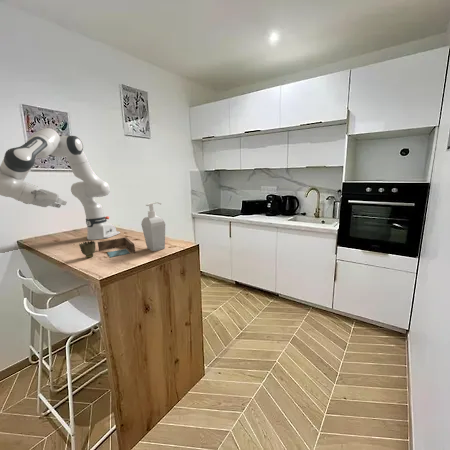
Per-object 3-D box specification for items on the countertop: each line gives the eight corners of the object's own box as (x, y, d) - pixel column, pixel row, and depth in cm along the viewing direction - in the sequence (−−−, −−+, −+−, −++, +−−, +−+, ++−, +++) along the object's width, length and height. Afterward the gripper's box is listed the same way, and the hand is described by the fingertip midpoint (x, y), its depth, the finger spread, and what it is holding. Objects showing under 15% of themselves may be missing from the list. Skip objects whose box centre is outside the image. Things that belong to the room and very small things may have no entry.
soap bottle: (170, 248, 143) (165, 202, 138) (154, 252, 137) (148, 204, 131) (160, 244, 152) (155, 201, 147) (144, 248, 146) (138, 203, 141)
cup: (79, 257, 135) (77, 243, 133) (94, 254, 140) (92, 239, 138) (84, 260, 130) (81, 245, 128) (99, 256, 135) (97, 242, 133)
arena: (104, 259, 130) (102, 250, 129) (98, 250, 146) (97, 242, 145) (135, 252, 138) (134, 243, 137) (127, 245, 154) (126, 237, 153)
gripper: (37, 183, 109) (72, 195, 119) (27, 191, 123) (59, 202, 133) (31, 196, 108) (67, 208, 117) (22, 203, 121) (55, 213, 131)
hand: (63, 205), depth 125 cm, fingers open, 8 cm apart
